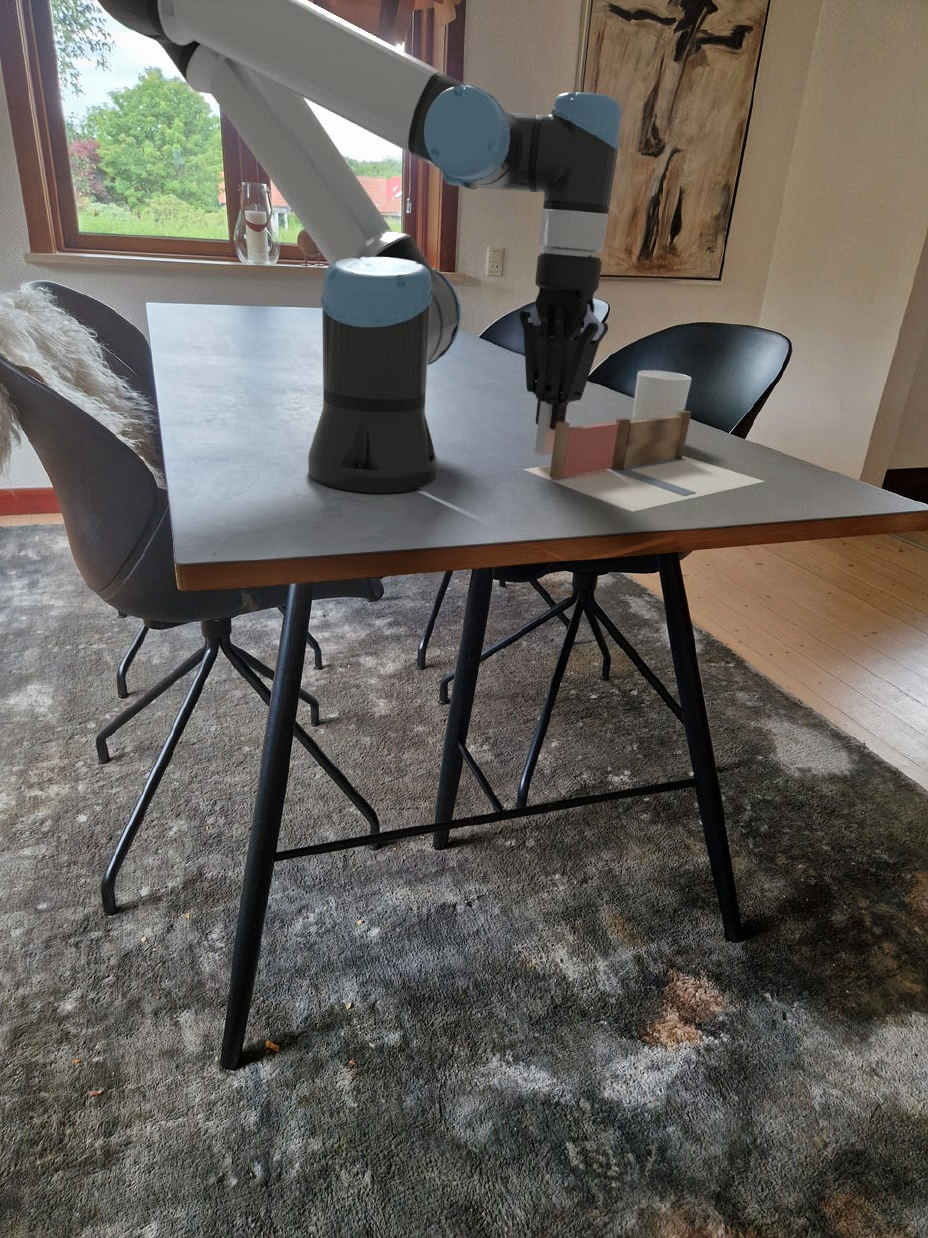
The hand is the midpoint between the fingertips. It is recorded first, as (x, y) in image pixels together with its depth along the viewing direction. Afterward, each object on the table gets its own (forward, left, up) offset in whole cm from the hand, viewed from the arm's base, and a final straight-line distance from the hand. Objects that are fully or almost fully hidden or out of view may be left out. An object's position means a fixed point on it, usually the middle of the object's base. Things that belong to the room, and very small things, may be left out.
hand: (546, 452), depth 102 cm
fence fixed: (+14, -6, -2) cm, 15 cm away
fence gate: (+1, -6, -1) cm, 6 cm away
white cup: (+26, +3, -2) cm, 27 cm away
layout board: (+9, -10, -2) cm, 13 cm away
